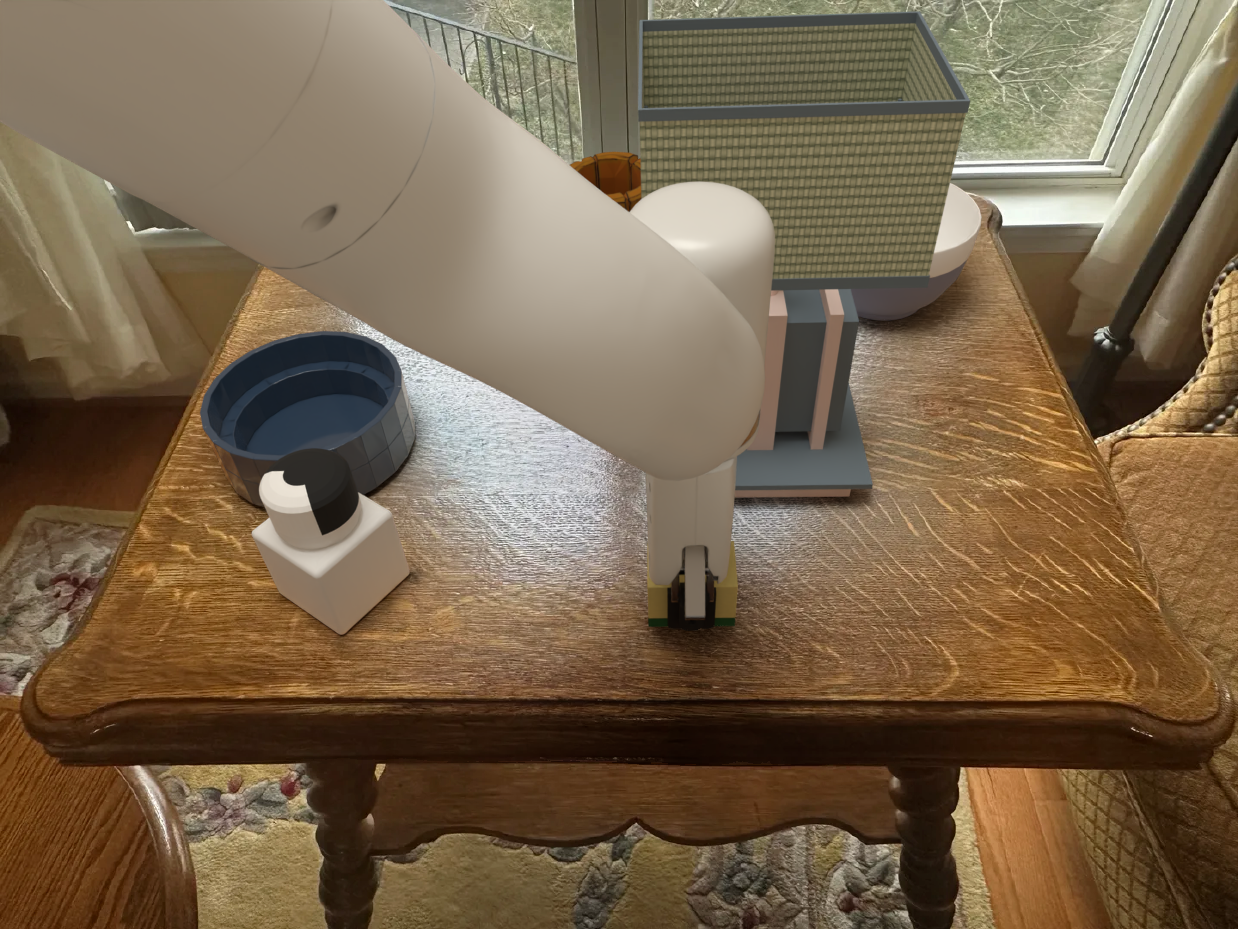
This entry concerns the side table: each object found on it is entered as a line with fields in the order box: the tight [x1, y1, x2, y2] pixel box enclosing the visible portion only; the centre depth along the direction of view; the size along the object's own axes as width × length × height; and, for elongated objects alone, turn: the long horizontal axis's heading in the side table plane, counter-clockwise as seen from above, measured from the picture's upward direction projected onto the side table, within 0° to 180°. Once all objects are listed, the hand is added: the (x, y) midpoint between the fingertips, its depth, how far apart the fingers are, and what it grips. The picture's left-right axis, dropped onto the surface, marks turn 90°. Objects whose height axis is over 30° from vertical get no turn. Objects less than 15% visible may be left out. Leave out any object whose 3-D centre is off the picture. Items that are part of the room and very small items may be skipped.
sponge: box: [646, 540, 739, 628], centre depth 65 cm, size 6×4×4 cm, turn 89°
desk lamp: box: [637, 10, 971, 499], centre depth 68 cm, size 18×14×33 cm
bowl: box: [851, 182, 982, 322], centre depth 92 cm, size 16×16×10 cm
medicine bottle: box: [251, 448, 411, 636], centre depth 67 cm, size 7×7×12 cm
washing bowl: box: [199, 330, 416, 508], centre depth 80 cm, size 16×16×6 cm
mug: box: [569, 151, 641, 212], centre depth 91 cm, size 11×16×15 cm, turn 113°
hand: (689, 595), depth 66 cm, fingers closed on sponge, 4 cm apart
